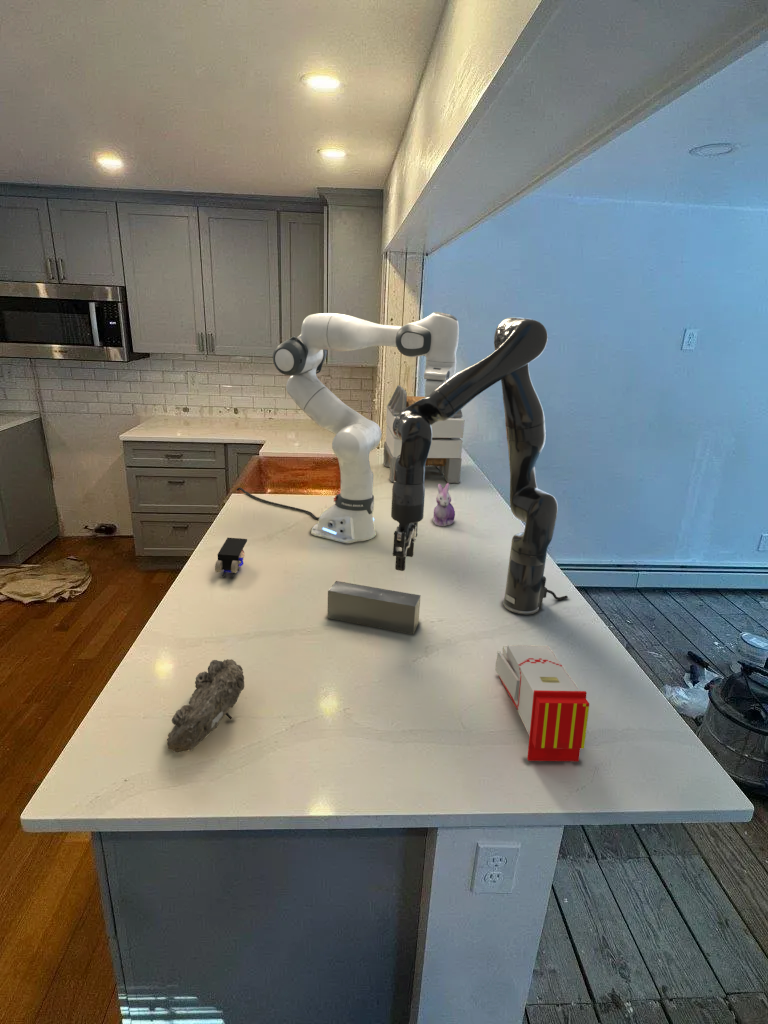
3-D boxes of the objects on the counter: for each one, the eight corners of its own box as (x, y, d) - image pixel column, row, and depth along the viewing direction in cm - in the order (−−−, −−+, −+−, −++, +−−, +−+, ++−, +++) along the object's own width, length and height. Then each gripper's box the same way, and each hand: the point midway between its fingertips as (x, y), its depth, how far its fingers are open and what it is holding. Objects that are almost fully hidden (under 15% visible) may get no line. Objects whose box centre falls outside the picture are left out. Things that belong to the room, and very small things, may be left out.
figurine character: (238, 584, 162) (249, 557, 175) (236, 562, 158) (247, 536, 172) (215, 584, 161) (227, 556, 175) (212, 561, 158) (225, 535, 171)
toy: (545, 627, 125) (599, 699, 96) (539, 683, 128) (590, 769, 99) (490, 626, 125) (528, 698, 96) (486, 682, 128) (522, 768, 98)
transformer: (382, 463, 289) (386, 382, 275) (445, 464, 293) (451, 384, 279) (390, 482, 257) (394, 392, 243) (460, 483, 261) (468, 394, 247)
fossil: (192, 660, 117) (244, 628, 112) (224, 691, 120) (276, 661, 115) (142, 746, 98) (202, 712, 93) (182, 779, 101) (242, 748, 96)
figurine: (440, 528, 206) (443, 489, 201) (425, 519, 214) (428, 481, 209) (461, 525, 210) (465, 486, 205) (446, 516, 219) (449, 478, 214)
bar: (327, 618, 144) (327, 590, 141) (335, 607, 149) (336, 580, 147) (413, 634, 139) (415, 606, 136) (418, 622, 144) (420, 595, 141)
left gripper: (436, 367, 177) (432, 411, 181) (422, 373, 158) (418, 422, 163) (456, 368, 175) (451, 413, 180) (445, 375, 157) (440, 424, 161)
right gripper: (417, 511, 124) (412, 577, 129) (430, 492, 136) (425, 553, 142) (384, 506, 125) (381, 572, 131) (400, 488, 138) (397, 549, 144)
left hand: (436, 417), depth 171 cm, fingers open, 8 cm apart
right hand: (404, 562), depth 136 cm, fingers open, 8 cm apart
